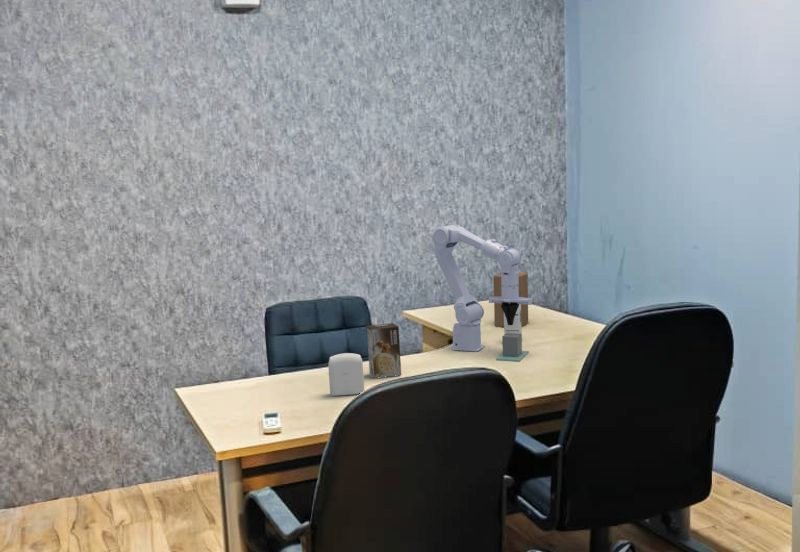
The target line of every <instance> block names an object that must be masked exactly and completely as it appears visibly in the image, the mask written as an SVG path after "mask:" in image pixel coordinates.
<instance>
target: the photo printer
mask: <svg viewBox="0 0 800 552" xmlns="http://www.w3.org/2000/svg"><path fill="white" fill-rule="evenodd" d="M363 363H364V362H363V358H362V356H361V355H360V354H357V353H352V352H351V353H350V352H344V353H339V354H338V353H337V354H335V355H331V356H330V357H329V360H328V365H327V366H328V380H329V394H330V396H332V397H337V396H349V395H360V394H359V393H361V392H363V391H364V392H365V382H364V381H365V380H364V365H363Z"/></svg>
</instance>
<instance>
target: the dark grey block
mask: <svg viewBox="0 0 800 552" xmlns="http://www.w3.org/2000/svg"><path fill="white" fill-rule="evenodd" d="M522 336H523V333H522V334H516V333H506V334H505V335H504V334H503V335H502V339H501V340H502V343H501V344H502V353H503V356H506V357H519V356H520V355H521V354H522V351H523V345H522V344H523V343H522V342H523V337H522Z"/></svg>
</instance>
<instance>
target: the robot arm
mask: <svg viewBox="0 0 800 552" xmlns="http://www.w3.org/2000/svg"><path fill="white" fill-rule="evenodd" d="M433 231H434V232H433V234H432V237H431V239H432V242H433V245H434V255H435V259H436V260H437V262H438V265H439V267H440V269H441V271H442V274H443V275H444V278H445V280H446V283H447V285H448V287H449V289H450V291H451V294H452V296H453V298H454V300H455V302H454V305H453V309H454V313H455V314H454V315H455V319H456V321H457V322H456V323H453V324H454V325H453V327H452V350H453V351H465V352H479V351H480V350H482V349H483V348H485V344H482V338H481V337H482V336H481V334H482V332H481V321H482V318H483V317H484V314H485V309H484V307H483V305H482V304H481V303H479V301H478V300H477V297H474V296H473V295H471V294H470V291H469V289H468V287H467V285H466V283H465V280H464V278H463V275H462V273H461V272H460V269H459V268H458V265H457V262H456V260H455V258H454V256H453V252H454V249H455V247H456V246H457V245H458V244H459V243H461V242H463V243H464V244H467V245H469V246H472V247H474V248H477V249H478V250H480V251H481V254H482V255H483V256H485V257H487V258H489V259H491V260H493V261H495V262H497V263H498V265H499V266H500V267H499V268H500V273H501V291H502V296H498V297H494V296H489V297H488V304H494V303H502V305H501V308H502V310H503V312H504V314H505V316H506V319H507V323H508V325H513V322H514V317H515V314H516V311H517V309H518V307H519V304H527V305H528V306H531V305H532V304H533V298H530V297H528V298H523V297H519V283H518V272H519V264H520V262H521V260H522V255H521V253H520V250H518V249H517V248H515V247H510V248H509V247H508V246H507V245H502V244H500V243H498V242H497V239H490V238H489V239H487V240H485V239H483V238H482V237H479V236H478V235H476V234H474V233H473V232H471V231H469V230H467V229H466V228H464V226H459V225H458V224H456V223H453V224H450V225H444V226H439V227H437V228H435V229H434V230H433Z"/></svg>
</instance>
